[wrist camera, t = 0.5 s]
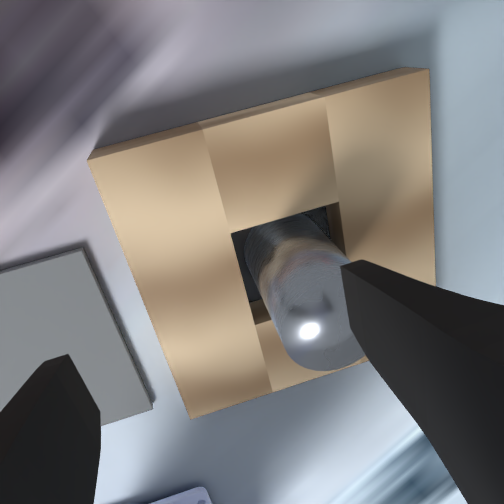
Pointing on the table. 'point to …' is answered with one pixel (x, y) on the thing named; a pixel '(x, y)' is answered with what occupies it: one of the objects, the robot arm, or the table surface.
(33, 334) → the rubber pad
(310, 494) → the table surface
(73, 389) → the robot arm
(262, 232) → the steel cylinder
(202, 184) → the pocket block
